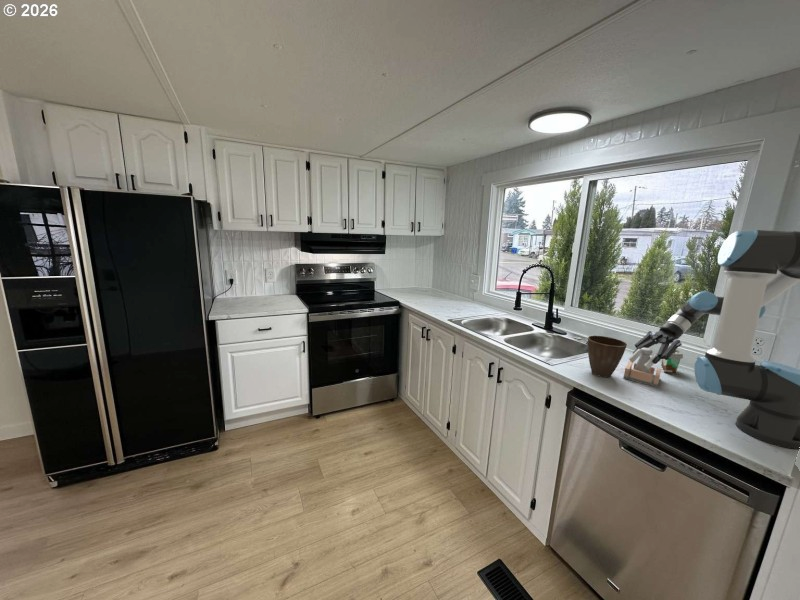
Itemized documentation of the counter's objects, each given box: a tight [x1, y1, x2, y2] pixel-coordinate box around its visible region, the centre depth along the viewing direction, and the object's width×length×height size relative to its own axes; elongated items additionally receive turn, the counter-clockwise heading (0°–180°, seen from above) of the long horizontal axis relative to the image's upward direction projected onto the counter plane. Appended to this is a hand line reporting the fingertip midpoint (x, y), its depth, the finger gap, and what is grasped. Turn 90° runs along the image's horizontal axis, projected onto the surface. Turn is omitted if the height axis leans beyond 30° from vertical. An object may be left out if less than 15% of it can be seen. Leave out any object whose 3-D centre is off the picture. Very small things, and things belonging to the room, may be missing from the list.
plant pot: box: [587, 335, 628, 378], centre depth 144 cm, size 15×15×16 cm
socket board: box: [623, 360, 662, 388], centre depth 143 cm, size 12×12×5 cm
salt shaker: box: [635, 347, 653, 374], centre depth 141 cm, size 6×6×13 cm
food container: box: [660, 347, 684, 374], centre depth 152 cm, size 12×6×10 cm, turn 148°
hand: (638, 363), depth 141 cm, fingers open, 7 cm apart
